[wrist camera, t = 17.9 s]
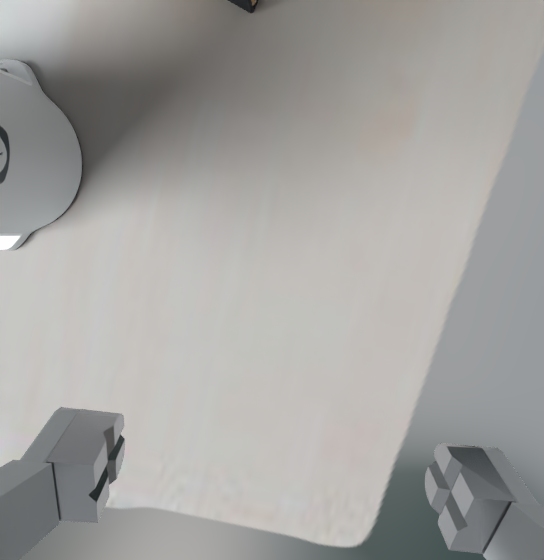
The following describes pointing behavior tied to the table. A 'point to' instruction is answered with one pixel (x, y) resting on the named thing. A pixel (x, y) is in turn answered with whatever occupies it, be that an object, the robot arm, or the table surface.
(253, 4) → the ammunition clip
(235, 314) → the table surface
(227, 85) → the table surface
